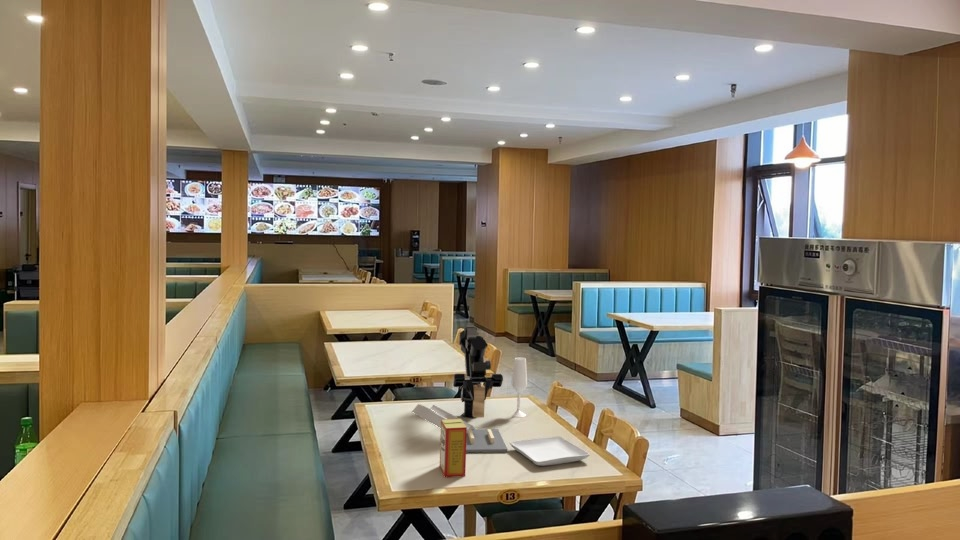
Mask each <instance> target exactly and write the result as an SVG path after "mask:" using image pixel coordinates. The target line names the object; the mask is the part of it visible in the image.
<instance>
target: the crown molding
mask: <svg viewBox="0 0 960 540" xmlns="http://www.w3.org/2000/svg"><path fill="white" fill-rule="evenodd" d="M431 409H432V410H434V411H435V412H434V411H432V410H431ZM412 412H414V413H415V414H414V413H413V414H414V415H416V414H417V415H419V416H420V417H419V416H418V417H419V418H421V417H422V418H421V419H423V418H424V419H426V420H427V421H426V420H425V421H426V422H428V421H429V422H431V423H433V424H435V425H437V426H438V427H440V428H441V419H460V418H459V417H457V416H456V415H453V414H452V413H449V412H448V411H446V410H444V409H442V408H441V407H438V406H437V405H435V404H433V405H432V406H431V407H430V408H428V406H425V405H423V404H421V403H417V405H416V406H415V407H414V408H413V409H412V410H411V413H412ZM436 412H437V413H436ZM417 415H416V416H417ZM424 419H423V420H424ZM461 420H462V421H463V423H464V424H465V426H466V427H467V429H474V428H475V427H474V425H472V424H471V423H469V422H466V420H463V419H461ZM429 422H428V423H429ZM431 423H430V424H431ZM433 424H432V425H433ZM435 425H434V426H435ZM438 427H437V428H438ZM440 428H439V429H440Z"/></svg>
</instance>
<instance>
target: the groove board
mask: <svg viewBox="0 0 960 540" xmlns="http://www.w3.org/2000/svg"><path fill="white" fill-rule="evenodd" d="M468 452H487V454H495V453H496V454H499V453H506V454H507V453H508V447H507V446H506V443H505V441H504V439H503V436H502V435H501V433H500V431H499V429H497V428H493V429H492V428H487V429H484V428H483V429H480V428H479V429H476V428H475V429H467V437H466V454H469V453H468Z"/></svg>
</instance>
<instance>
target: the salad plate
mask: <svg viewBox="0 0 960 540" xmlns="http://www.w3.org/2000/svg"><path fill="white" fill-rule="evenodd" d="M509 444H510V446H511V448H513V449H514V450H516V451H517V452H518V453H520V454H521V455H523V456H524V457H525V458H527V459H528V460H530V461H531V462H532V463H533V464H535V465H536V466H538V467H539V466H542V467H543V466H544V467H546V466H553V465H554V466H555V465H562V464H568V463H575V462H578V461H582V460H585V459H587V458H589V457H590V456H591V453H589V452H588V451H586V450H585V449H583V448H581V447H580V446H578V445H576V444H574V443H572V442H570V441H569V440H567V439H565V438H564V437H562V436H560V435H559V436H558V435H557V436H546V437H544V436H543V437H537V438H530V439H519V440H514V441H513V440H511V441H509Z"/></svg>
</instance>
